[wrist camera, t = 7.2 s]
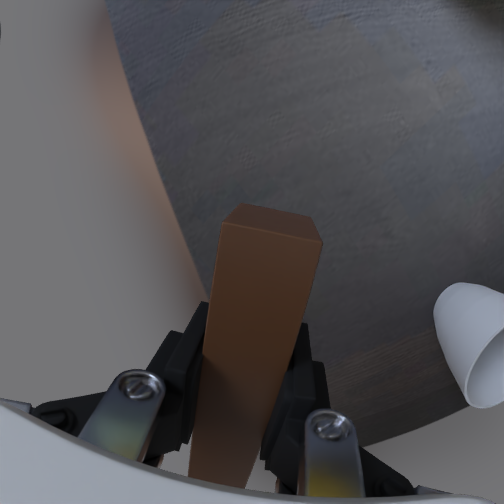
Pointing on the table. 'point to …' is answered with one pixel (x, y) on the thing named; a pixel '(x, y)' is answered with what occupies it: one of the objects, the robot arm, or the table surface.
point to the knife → (249, 335)
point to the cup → (473, 340)
